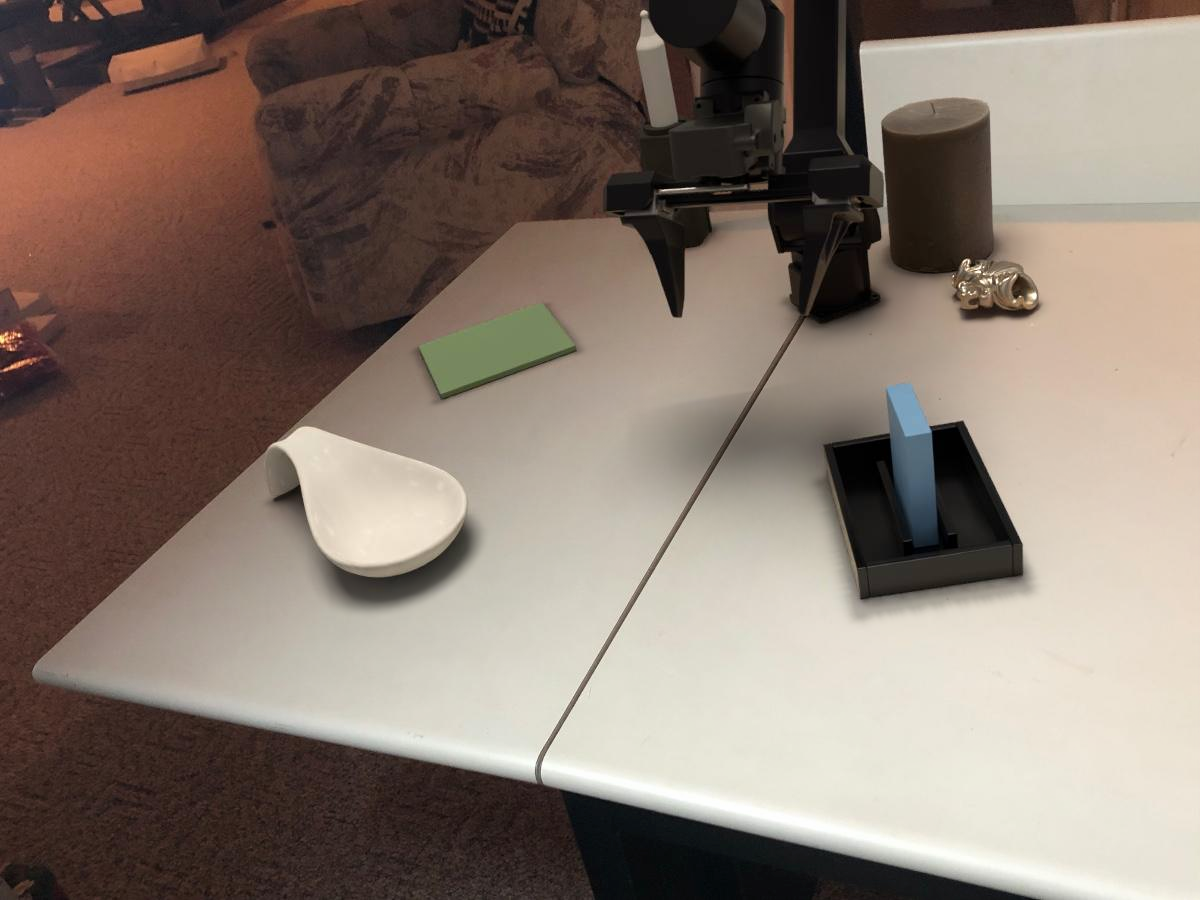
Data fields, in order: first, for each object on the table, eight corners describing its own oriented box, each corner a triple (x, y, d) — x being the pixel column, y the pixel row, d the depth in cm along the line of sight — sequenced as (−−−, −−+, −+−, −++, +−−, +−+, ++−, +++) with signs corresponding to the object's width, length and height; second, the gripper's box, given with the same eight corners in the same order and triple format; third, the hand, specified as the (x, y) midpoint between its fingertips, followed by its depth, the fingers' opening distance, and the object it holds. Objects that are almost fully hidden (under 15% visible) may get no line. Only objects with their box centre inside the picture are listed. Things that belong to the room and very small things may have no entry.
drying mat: (543, 306, 116) (542, 301, 116) (576, 350, 106) (575, 345, 106) (419, 350, 114) (418, 345, 114) (442, 399, 104) (440, 394, 104)
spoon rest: (508, 531, 84) (482, 457, 80) (390, 623, 78) (356, 547, 74) (343, 452, 100) (315, 386, 96) (234, 523, 94) (200, 456, 90)
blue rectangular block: (895, 494, 76) (885, 386, 71) (918, 490, 76) (910, 382, 71) (913, 548, 71) (905, 436, 66) (938, 544, 71) (931, 432, 66)
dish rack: (827, 482, 81) (822, 443, 79) (965, 459, 79) (963, 420, 77) (861, 610, 69) (857, 569, 67) (1023, 586, 68) (1023, 544, 66)
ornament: (928, 307, 98) (926, 271, 96) (980, 277, 101) (979, 241, 99) (1000, 332, 92) (999, 294, 90) (1053, 299, 95) (1054, 261, 93)
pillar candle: (930, 283, 102) (921, 128, 94) (871, 252, 110) (858, 107, 102) (1016, 248, 104) (1014, 93, 96) (951, 220, 112) (945, 75, 104)
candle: (674, 227, 126) (631, 5, 112) (715, 227, 124) (675, 0, 110) (657, 247, 122) (610, 20, 109) (699, 247, 120) (656, 15, 106)
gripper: (568, 74, 71) (568, 313, 72) (854, 39, 63) (849, 307, 65) (633, 111, 81) (632, 320, 82) (887, 84, 73) (882, 316, 75)
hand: (738, 316), depth 76 cm, fingers open, 9 cm apart
